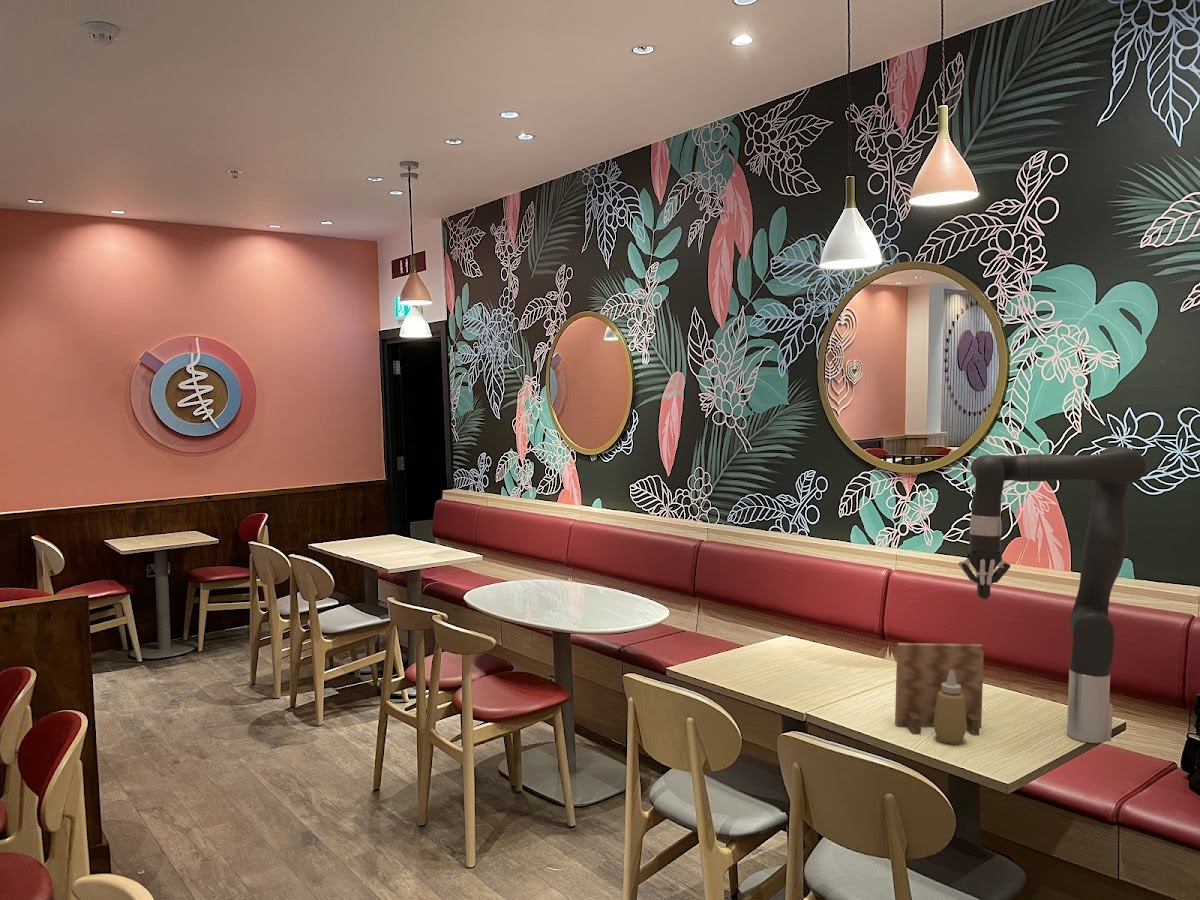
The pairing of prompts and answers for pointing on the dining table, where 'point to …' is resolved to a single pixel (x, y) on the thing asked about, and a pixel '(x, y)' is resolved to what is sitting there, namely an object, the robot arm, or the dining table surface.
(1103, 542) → the robot arm
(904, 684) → the walnut wall board
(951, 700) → the squeeze bottle
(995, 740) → the dining table surface
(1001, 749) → the dining table surface
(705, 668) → the dining table surface
